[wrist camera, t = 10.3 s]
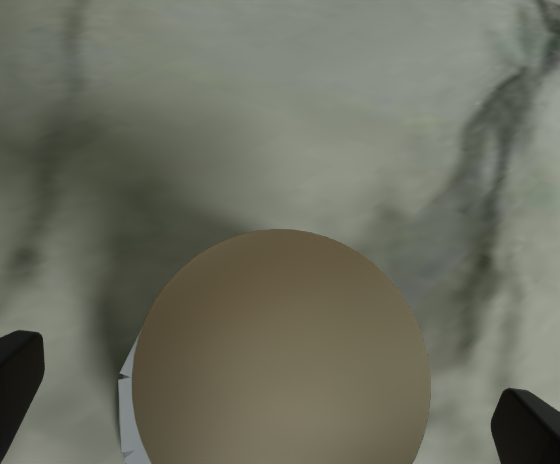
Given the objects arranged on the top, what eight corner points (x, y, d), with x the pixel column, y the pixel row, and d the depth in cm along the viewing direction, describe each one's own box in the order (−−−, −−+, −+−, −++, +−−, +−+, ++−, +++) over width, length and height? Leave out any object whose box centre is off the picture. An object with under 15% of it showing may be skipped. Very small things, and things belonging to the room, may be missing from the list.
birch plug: (340, 441, 17) (482, 467, 7) (210, 493, 16) (175, 605, 6) (294, 314, 19) (362, 200, 9) (174, 353, 18) (103, 273, 8)
